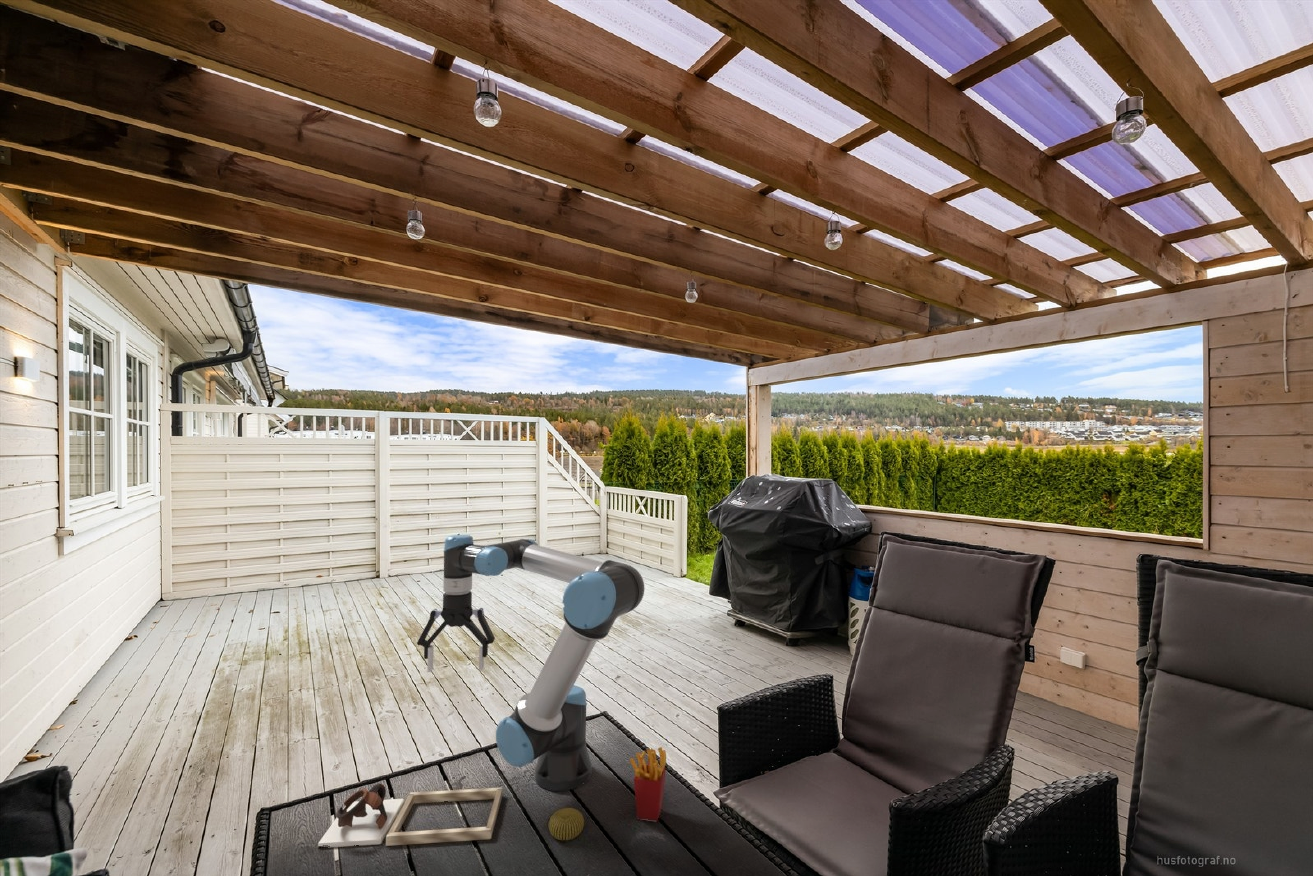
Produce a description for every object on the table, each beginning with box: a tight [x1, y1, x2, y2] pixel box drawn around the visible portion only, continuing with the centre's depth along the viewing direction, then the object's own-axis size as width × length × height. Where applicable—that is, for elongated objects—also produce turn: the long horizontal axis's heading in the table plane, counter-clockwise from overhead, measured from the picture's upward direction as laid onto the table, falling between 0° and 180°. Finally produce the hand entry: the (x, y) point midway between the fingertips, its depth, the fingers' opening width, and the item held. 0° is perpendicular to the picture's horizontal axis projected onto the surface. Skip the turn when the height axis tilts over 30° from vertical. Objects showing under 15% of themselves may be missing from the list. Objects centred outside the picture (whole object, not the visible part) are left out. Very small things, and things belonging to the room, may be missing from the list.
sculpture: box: [548, 807, 585, 841], centre depth 128 cm, size 8×4×8 cm
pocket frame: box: [385, 786, 504, 847], centre depth 133 cm, size 22×16×2 cm
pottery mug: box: [335, 783, 387, 829], centre depth 130 cm, size 12×10×8 cm
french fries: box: [629, 746, 667, 821], centre depth 136 cm, size 9×8×15 cm
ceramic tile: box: [317, 798, 405, 848], centre depth 130 cm, size 13×15×1 cm
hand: (455, 669), depth 155 cm, fingers open, 13 cm apart
